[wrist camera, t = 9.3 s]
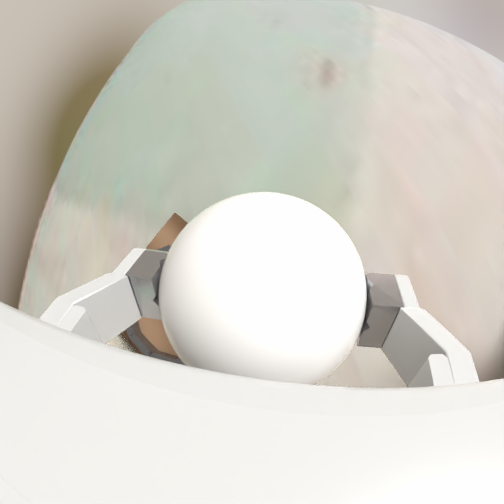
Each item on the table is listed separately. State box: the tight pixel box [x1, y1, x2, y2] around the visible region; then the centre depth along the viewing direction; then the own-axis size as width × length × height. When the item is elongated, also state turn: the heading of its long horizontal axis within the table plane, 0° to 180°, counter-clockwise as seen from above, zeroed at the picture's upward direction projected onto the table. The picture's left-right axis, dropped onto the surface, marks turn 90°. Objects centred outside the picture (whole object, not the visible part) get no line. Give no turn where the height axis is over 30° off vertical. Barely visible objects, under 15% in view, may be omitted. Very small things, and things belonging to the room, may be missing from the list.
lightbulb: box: [158, 192, 367, 385], centre depth 11 cm, size 6×6×11 cm
